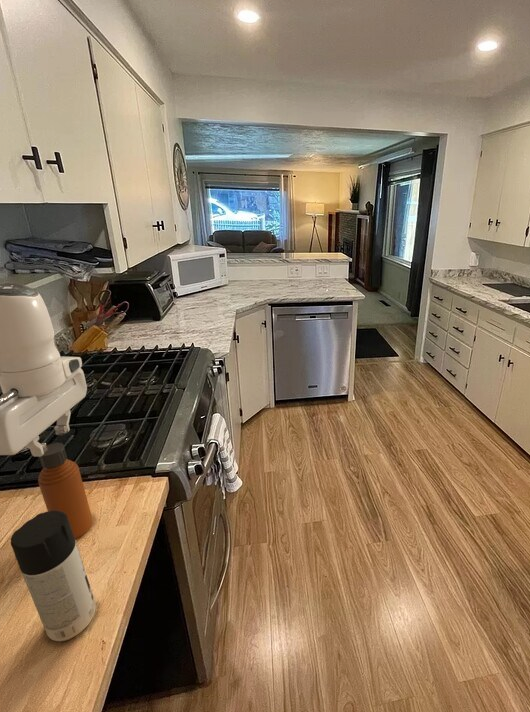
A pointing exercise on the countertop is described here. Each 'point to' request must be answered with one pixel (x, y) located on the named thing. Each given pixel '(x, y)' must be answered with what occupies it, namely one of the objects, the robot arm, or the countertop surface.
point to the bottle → (66, 495)
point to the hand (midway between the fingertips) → (52, 443)
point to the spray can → (54, 574)
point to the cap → (53, 455)
